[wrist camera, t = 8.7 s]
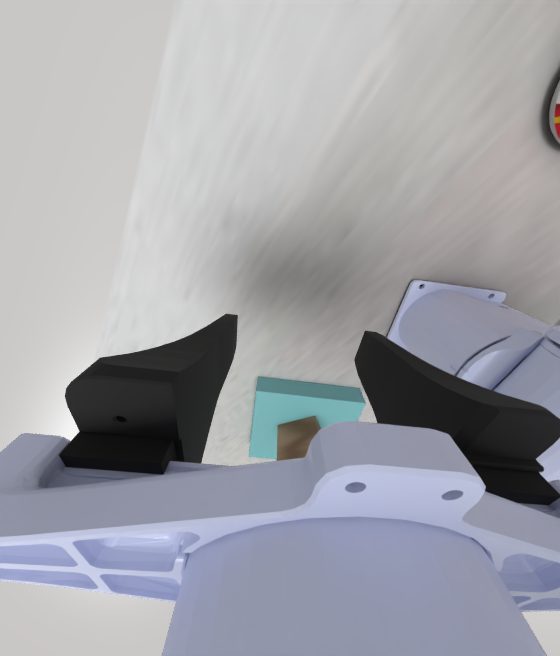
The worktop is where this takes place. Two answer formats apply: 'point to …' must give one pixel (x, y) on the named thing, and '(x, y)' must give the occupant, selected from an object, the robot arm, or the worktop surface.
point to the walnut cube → (296, 438)
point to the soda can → (555, 113)
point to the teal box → (298, 409)
